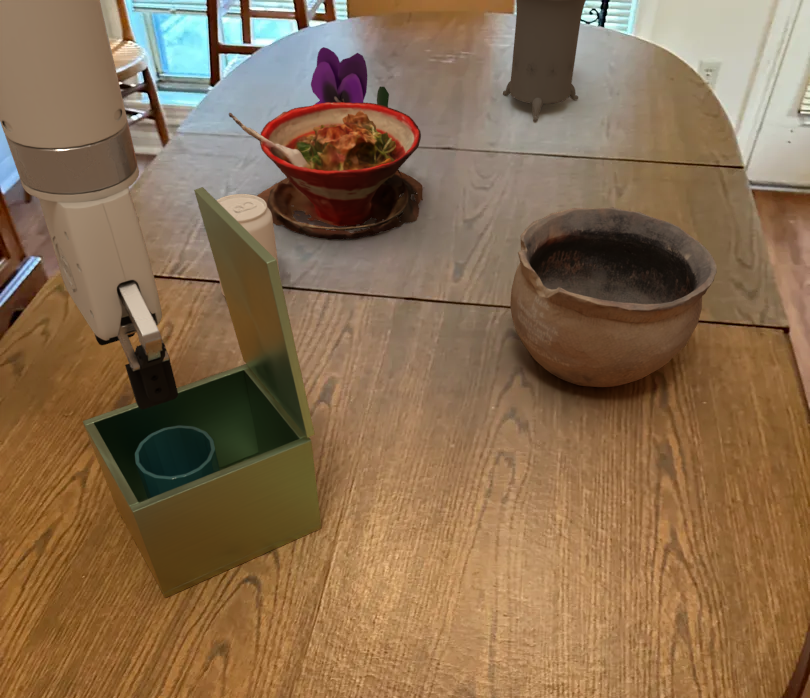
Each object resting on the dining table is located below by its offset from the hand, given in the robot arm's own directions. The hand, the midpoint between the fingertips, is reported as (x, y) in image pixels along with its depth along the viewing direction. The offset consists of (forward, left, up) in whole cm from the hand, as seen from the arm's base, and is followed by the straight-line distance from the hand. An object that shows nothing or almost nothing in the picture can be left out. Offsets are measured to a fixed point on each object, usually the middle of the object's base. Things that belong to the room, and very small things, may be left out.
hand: (136, 369), depth 64 cm
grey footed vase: (+100, +69, -20) cm, 123 cm away
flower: (+62, +75, -20) cm, 99 cm away
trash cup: (+1, 0, -19) cm, 19 cm away
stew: (+45, +51, -20) cm, 71 cm away
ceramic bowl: (+53, 0, -20) cm, 57 cm away
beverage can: (+24, +37, -20) cm, 48 cm away
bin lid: (+10, 0, +1) cm, 11 cm away
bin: (+3, 0, -20) cm, 20 cm away
